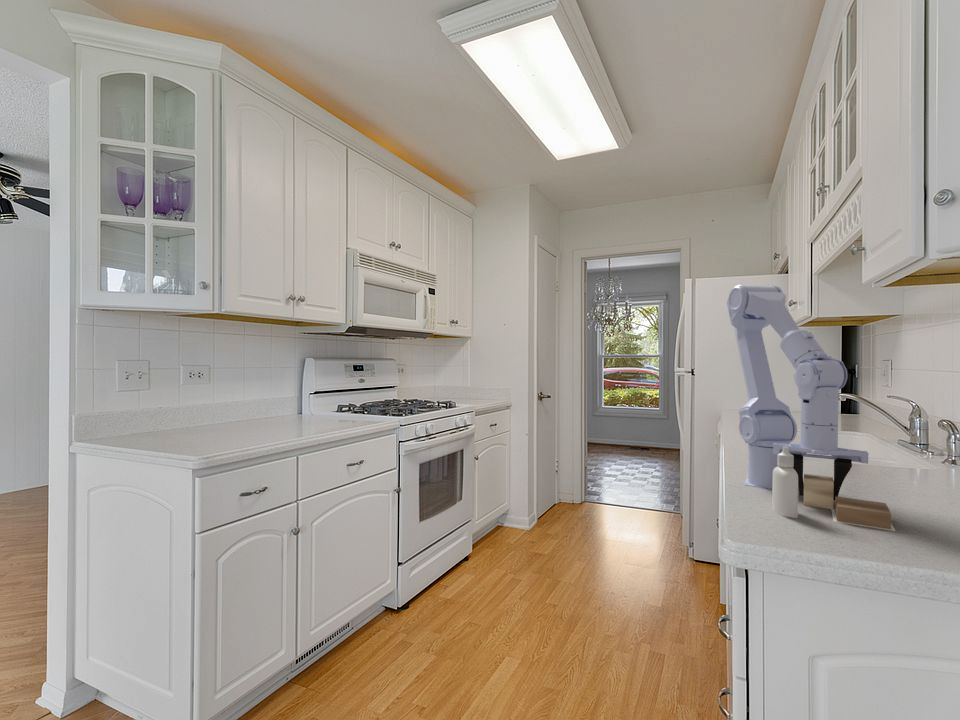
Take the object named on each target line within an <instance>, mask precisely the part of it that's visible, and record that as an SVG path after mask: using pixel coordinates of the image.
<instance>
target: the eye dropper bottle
mask: <svg viewBox="0 0 960 720" xmlns="http://www.w3.org/2000/svg"><path fill="white" fill-rule="evenodd" d="M777 465H778V467H776V468H774V470H773V485H772V489H771V490H772V491H771V492H772V493H771V494H772V496H771V497H772V501H771V502H772V503H771V510H772V512H774V513H775V514H777V515H778V516H781V517H784V518H794V519H795V518H797V519H798V517H799V515H798V514H799V488H798V474H797V472H796V471H795V470H794V469H793V467H794V456H793V455H791V454H790V453H789V450H788V447H783V451H782V453H779V454H778V460H777Z"/></svg>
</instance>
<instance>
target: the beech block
mask: <svg viewBox="0 0 960 720" xmlns="http://www.w3.org/2000/svg"><path fill="white" fill-rule="evenodd" d="M803 482H804V496H803V506H808V507H813V508H820V509H821V508H822V509H829V510H832V509H834V500H833V492H834V476H827V475H821V474H820V475H817V474H810V473H803Z"/></svg>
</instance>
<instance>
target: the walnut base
mask: <svg viewBox="0 0 960 720" xmlns="http://www.w3.org/2000/svg"><path fill="white" fill-rule="evenodd" d="M834 505H835V506H834V507H835V508H834V510H835V513H836V518H837V521H840V522H847V523H853V524H860V525H866V526H873V527H879V528H886V529H891V523H892V513H891V511H890V508H889V507H888V505H887V503H886V502H880V501H872V500H865V499H857V498H851V497H845V496H844V497H842V496H838V497H836V496H835V500H834Z"/></svg>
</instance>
